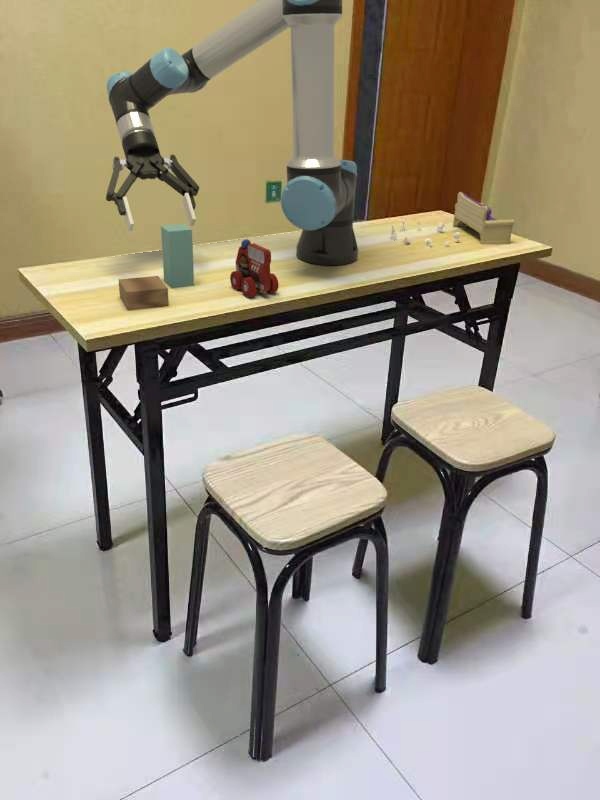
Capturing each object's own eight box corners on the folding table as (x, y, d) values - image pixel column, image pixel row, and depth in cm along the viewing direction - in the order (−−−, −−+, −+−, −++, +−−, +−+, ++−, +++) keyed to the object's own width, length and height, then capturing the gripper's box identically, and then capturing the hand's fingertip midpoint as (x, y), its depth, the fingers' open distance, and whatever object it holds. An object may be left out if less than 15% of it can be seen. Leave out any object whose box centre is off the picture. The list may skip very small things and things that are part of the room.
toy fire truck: (253, 280, 151) (253, 233, 146) (282, 297, 142) (283, 247, 137) (225, 284, 148) (224, 236, 143) (253, 302, 139) (253, 252, 134)
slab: (159, 294, 142) (158, 275, 140) (168, 307, 135) (167, 288, 133) (120, 298, 139) (118, 279, 137) (127, 312, 132) (126, 292, 130)
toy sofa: (511, 245, 185) (518, 207, 181) (481, 246, 184) (488, 207, 179) (478, 225, 203) (484, 190, 199) (451, 226, 202) (456, 190, 197)
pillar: (186, 278, 150) (183, 223, 144) (194, 285, 146) (191, 229, 141) (164, 281, 148) (160, 225, 142) (171, 288, 144) (168, 231, 138)
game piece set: (424, 227, 200) (426, 214, 198) (475, 244, 186) (477, 230, 184) (373, 235, 190) (374, 221, 189) (421, 253, 176) (423, 238, 174)
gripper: (189, 149, 159) (213, 229, 155) (79, 152, 149) (102, 239, 145) (196, 127, 153) (221, 211, 148) (81, 130, 142) (105, 219, 138)
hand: (162, 225), depth 146 cm, fingers open, 13 cm apart
